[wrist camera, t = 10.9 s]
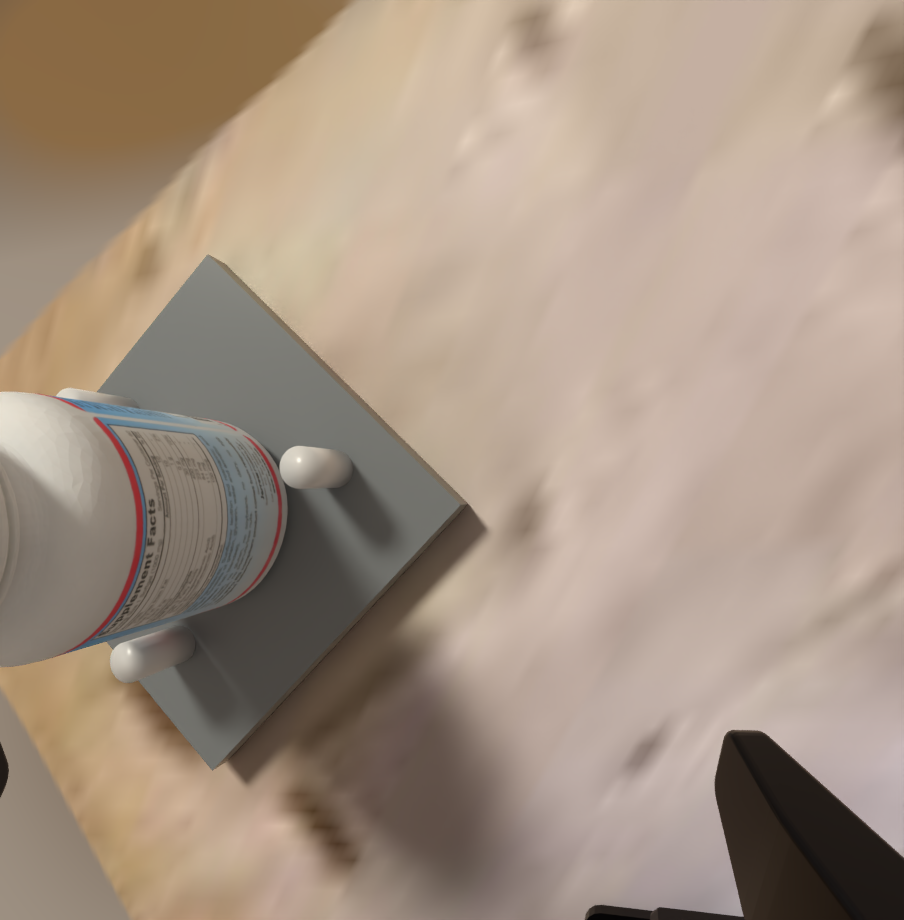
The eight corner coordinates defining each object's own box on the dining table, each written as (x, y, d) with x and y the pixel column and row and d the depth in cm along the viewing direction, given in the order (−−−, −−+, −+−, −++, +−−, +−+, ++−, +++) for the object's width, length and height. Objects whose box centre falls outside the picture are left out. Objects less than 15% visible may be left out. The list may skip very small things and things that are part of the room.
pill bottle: (105, 547, 24) (-329, 599, 13) (182, 389, 24) (-203, 307, 13) (242, 642, 23) (-115, 788, 12) (328, 476, 22) (36, 469, 11)
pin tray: (467, 503, 22) (439, 507, 19) (229, 758, 24) (163, 804, 20) (224, 263, 24) (159, 228, 21) (23, 511, 26) (-67, 515, 23)
